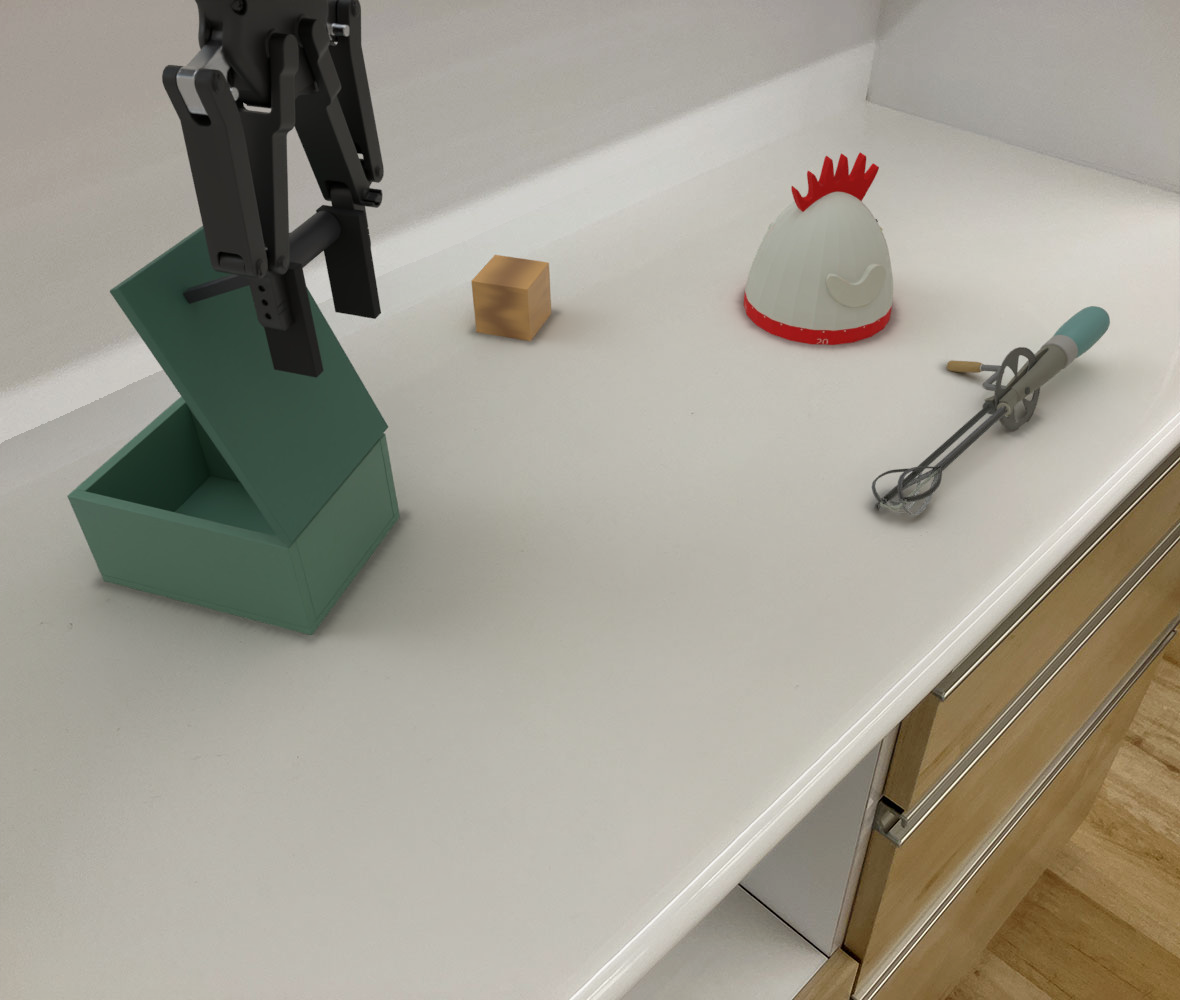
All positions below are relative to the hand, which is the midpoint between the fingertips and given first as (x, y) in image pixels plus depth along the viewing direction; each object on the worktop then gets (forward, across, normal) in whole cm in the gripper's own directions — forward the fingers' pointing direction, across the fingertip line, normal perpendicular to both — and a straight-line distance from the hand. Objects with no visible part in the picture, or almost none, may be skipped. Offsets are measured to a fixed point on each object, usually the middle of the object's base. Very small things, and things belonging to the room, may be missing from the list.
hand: (329, 339), depth 61 cm
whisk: (+19, +32, -37) cm, 53 cm away
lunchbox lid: (+3, 0, +5) cm, 6 cm away
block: (+19, +35, +4) cm, 40 cm away
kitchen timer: (+19, +47, -23) cm, 55 cm away
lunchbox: (+19, 0, +10) cm, 22 cm away
